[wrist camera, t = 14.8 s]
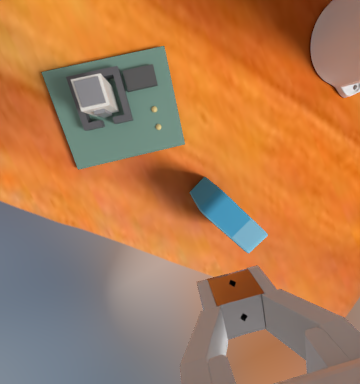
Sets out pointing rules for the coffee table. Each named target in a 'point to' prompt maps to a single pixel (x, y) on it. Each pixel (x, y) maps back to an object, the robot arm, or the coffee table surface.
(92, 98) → the plug
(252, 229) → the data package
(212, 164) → the coffee table surface
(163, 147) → the board
